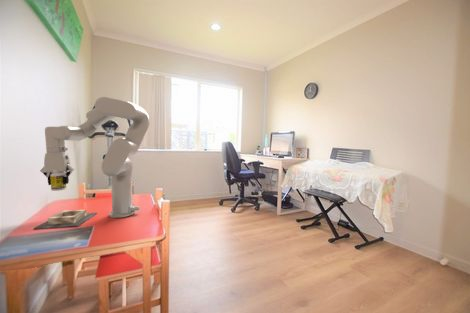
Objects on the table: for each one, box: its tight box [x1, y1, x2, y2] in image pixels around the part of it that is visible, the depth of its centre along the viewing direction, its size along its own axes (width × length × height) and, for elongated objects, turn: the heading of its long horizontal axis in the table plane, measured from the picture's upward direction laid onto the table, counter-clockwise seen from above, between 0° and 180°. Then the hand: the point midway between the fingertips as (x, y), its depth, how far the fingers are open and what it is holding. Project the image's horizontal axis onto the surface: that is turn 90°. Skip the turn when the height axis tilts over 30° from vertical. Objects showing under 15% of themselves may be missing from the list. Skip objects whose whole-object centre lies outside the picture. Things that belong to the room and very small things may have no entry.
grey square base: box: [33, 209, 98, 230], centre depth 104 cm, size 18×18×4 cm
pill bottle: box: [50, 170, 67, 192], centre depth 110 cm, size 6×6×11 cm
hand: (58, 183), depth 111 cm, fingers closed on pill bottle, 6 cm apart
